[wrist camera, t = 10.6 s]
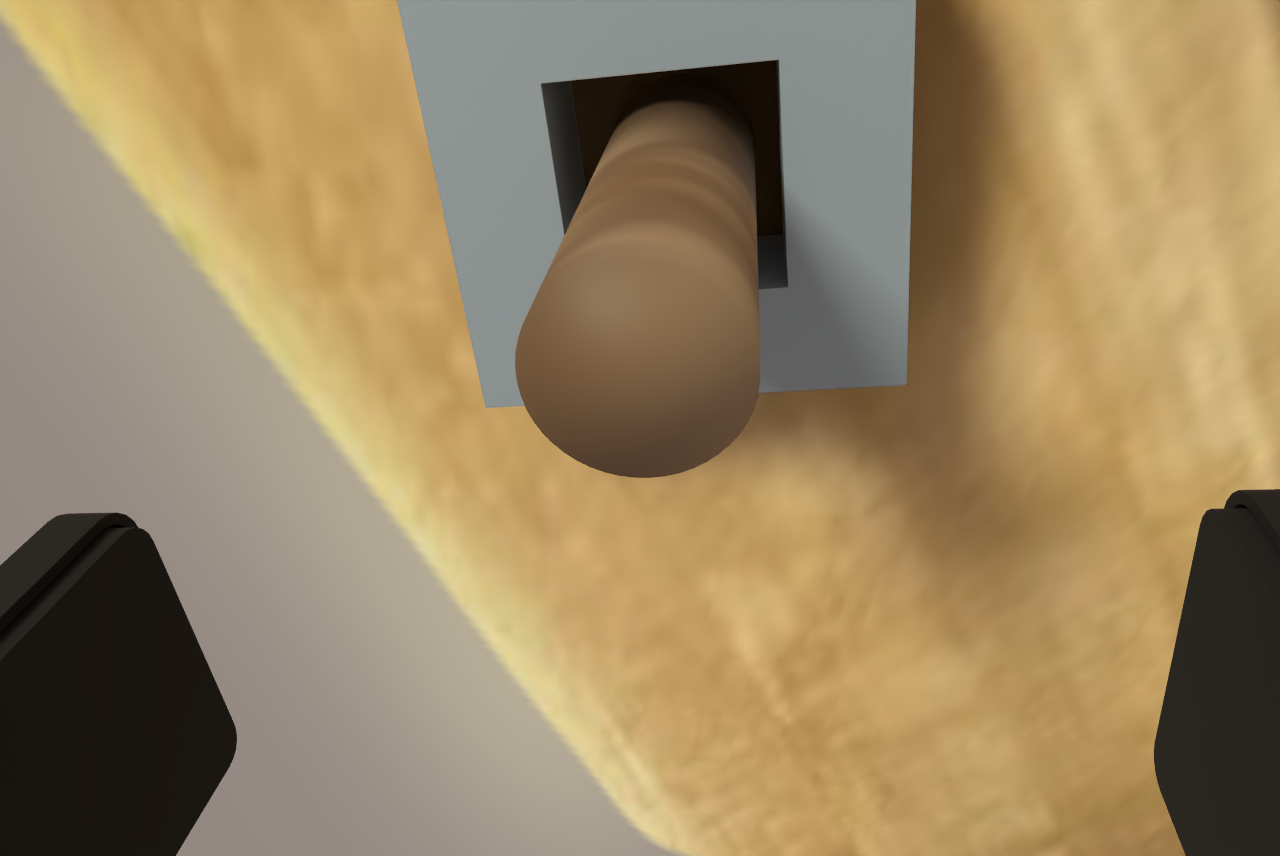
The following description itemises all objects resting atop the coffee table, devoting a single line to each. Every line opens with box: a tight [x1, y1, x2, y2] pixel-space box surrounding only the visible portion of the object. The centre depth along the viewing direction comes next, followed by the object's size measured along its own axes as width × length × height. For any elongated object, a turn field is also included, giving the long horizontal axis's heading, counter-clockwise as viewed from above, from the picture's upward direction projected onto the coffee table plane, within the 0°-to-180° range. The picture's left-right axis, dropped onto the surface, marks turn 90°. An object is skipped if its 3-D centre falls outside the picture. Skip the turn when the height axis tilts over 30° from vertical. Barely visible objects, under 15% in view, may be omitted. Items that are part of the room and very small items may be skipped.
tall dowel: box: [515, 75, 760, 478], centre depth 19 cm, size 3×3×12 cm
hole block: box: [397, 0, 916, 408], centre depth 22 cm, size 10×10×4 cm
